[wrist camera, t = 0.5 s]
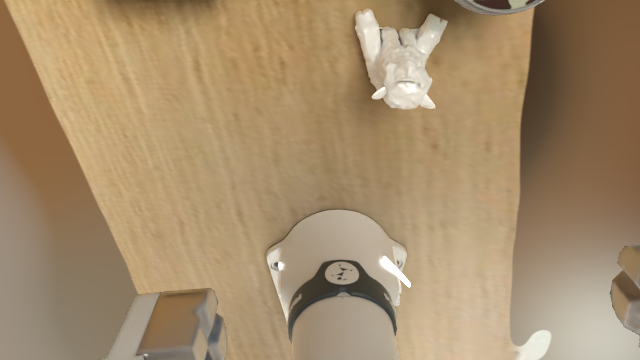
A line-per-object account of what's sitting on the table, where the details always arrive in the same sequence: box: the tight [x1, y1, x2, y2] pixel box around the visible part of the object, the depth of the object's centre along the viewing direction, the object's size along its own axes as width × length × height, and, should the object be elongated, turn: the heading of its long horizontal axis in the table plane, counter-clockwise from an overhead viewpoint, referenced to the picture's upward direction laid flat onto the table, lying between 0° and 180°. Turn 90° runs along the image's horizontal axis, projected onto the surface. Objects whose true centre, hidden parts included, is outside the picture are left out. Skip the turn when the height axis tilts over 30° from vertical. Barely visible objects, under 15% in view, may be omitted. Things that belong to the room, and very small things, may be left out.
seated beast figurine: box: [355, 8, 448, 110], centre depth 46 cm, size 10×9×12 cm
